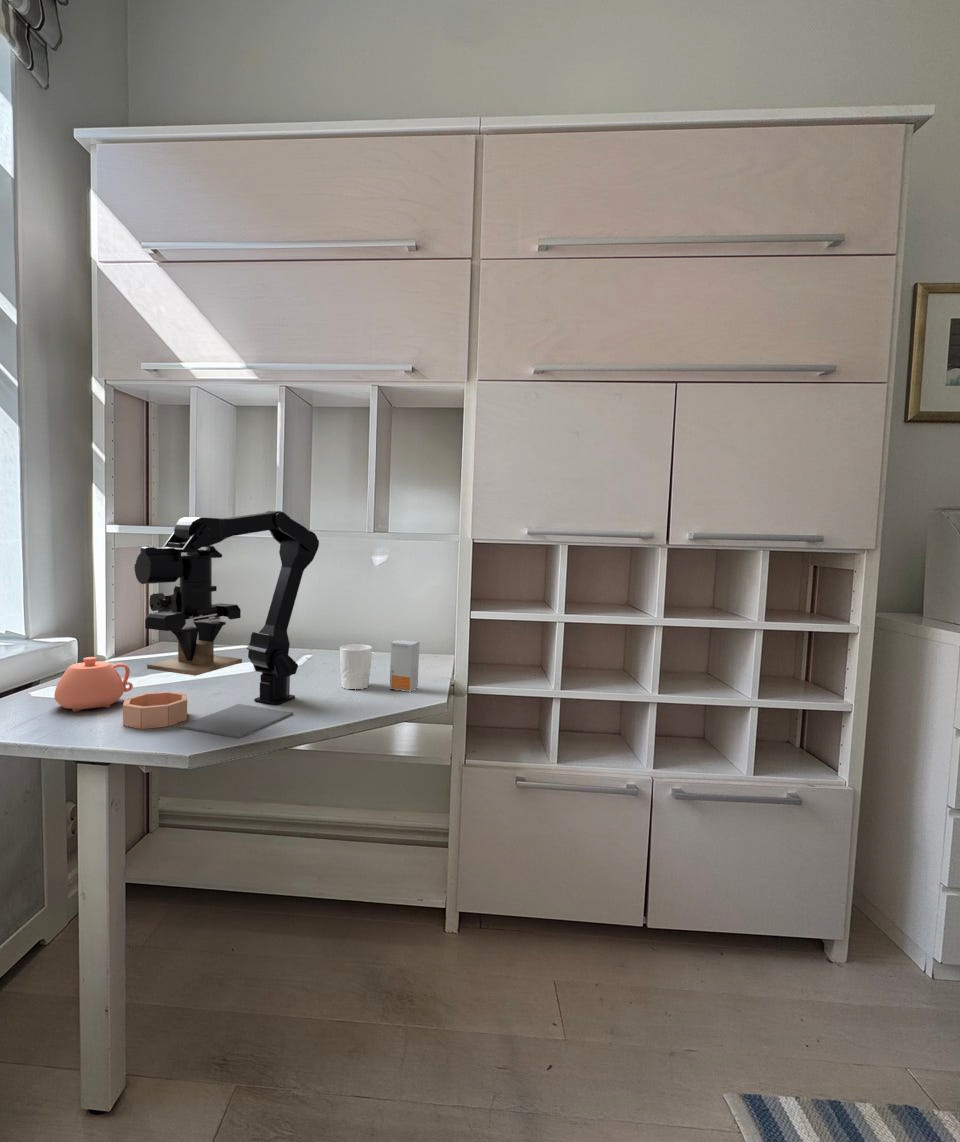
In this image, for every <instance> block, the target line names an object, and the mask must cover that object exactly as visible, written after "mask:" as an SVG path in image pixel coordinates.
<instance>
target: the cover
mask: <svg viewBox="0 0 960 1142" xmlns="http://www.w3.org/2000/svg"><path fill="white" fill-rule="evenodd" d="M214 647H215V646H214V641H213V642H210V641H202V640H199V639H197V641H196V647H195V652H194V656H193V660H192V661H187V660H186V658H185V655H184V653H183V650H182V648H181V645H180V643H179V641H177V653H178V655H177V657H174V658H170V659H166V660H161V661H156V662H152V663H148V664H146V670H147V669H148V670H153V671H161V672H166V673H167V672H168V673H175V674H180V675H181V674H182V675H188V676H195V677H196V676H200V675H204V674H206V673H211V672H213V671H218V670H221V669H225V668H227V667H232V666H234V665H235V666H236V665H238V664H241V663H243V659H242V658H239V657H238V658H237V657H231V656H224V655H223V656H222V655H215V654H214V653H215V651H214Z"/></svg>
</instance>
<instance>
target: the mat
mask: <svg viewBox="0 0 960 1142" xmlns="http://www.w3.org/2000/svg"><path fill="white" fill-rule="evenodd" d="M292 714H293V715H294V712H293V711H287V710H280V709H275V708H269V707H268V708H267V707H261V706H253V705H249V704H242V703H237V704H235V705H232V706H230V707H229V706H228V707H226V708H223V709H221V710H218V711H216V712H213V713H210V714H207V715H204V716H202V717H200V718H197V719H194V720H191V721H188V722H186V723H182V724H181V725H179V728H180V729H184V730H185V729H186V730H191V731H197V732H203V733H209V734H212V735H213V734H214V735H218V736H225V737H230V738H237V739H241V738H243V737H246V736H248V735H249V733H250V734H252V733H255V732H256V730H257V731H259V730H261V729H263V728H265V726H266V727H268V726H270V725H272V724H274V722H275V723H276V721H277V722H279V721H281V720H283V718H284V719H286V718H289V717H290V716H292ZM278 720H279V721H278ZM267 725H268V726H267ZM260 728H261V729H260ZM258 729H259V730H258ZM254 731H255V732H254Z"/></svg>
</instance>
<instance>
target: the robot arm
mask: <svg viewBox="0 0 960 1142" xmlns="http://www.w3.org/2000/svg"><path fill="white" fill-rule="evenodd" d="M177 520H178V521H177V522H176V524H175V525H174V529H173V532H172V533H171V534H170V536H169V538H168V539H167V540H166V542H165V543H164V544H163V545H162V547H154V546H153V547H152V546H141V547H140V554H138V556H137V557H136V560H135V563H134V574H135V575H134V576H135V577H136V580H137V582H139V583H140V584H142V585H147V584H148V585H150V584H153V585H154V584H165V583H166V584H168V583H175V582H177V581H178V580H179V585H175V586H174V588H173V594H170V595H165V594H164V593H163V592H159V593H158V592H157V593H153V594H150V595H149V603H148V604H149V608H150V610H151V611H152V612H151V613H149V614H147V615H146V617H145V618H144V619H145V620H144V625H145V626H144V627H145V629H147V630H156V631H157V630H158V631H164V632H171V633H172V634H174V636H175V638H176V639H177V640H178V641H177V642H179V643H180V645H181V648H182V650H183V653H184V655H185V658H186V660H187V661H192V660H193V656H194V652H195V647H196V641H197V640H202V641H210V642H214V641H215V639H216V638H217V636H218V634H219V633H220V631H221V629H222V628H223V626H225V625H226V623H227V622H226V621H221V618H222V617H225V618H226V617H227V618H228V619H229V620H236V619H241V616H242V614H241V608H240V607H239V605H238V604H234V603H222V602H220V603H214V604H212V603H213V600H212V598H213V594H212V593H213V592H217V585H213V584H212V581H213V578H212V577H213V575H212V574H213V571H212V566H213V564H212V563H213V562H212V560H213V559H220V558H222V557H223V554H222V553H221V552H219V551H218V549H216V547H215V546H214V545H215V544H216V545H217V544H218V543H221V542H223V541H224V540H226V539H228V538H231V537H236V536H243V535H248V534H253V533H254V534H255V533H259V532H260V533H261V532H267V531H269V532H270V534H271V536H272V538H273V540H275V541H276V542H277V543H278V544H280V545H279V550H278V551H279V552H278V553H279V558H280V562H281V567H280V571H279V574H278V578H277V582H276V585H275V588H274V592H273V596H272V599H271V602H270V606H269V610H268V612H267V617H266V620H265V624H264V625H263V627H262V628H261V629H260V631H259V632H257V631H252V633H251V634H250V641H249V644H248V645H247V647H246V650H248V654H247V657H248V659H249V661H250V663H251V664H252V665H253V668H254V672H256V673H257V672H259V673H261V674H260V679H259V680H260V682H259V696H258V697H255V698H254V702H259V703H266V704H271V705H280V704H282V703H286V702H287V701H290V700H292V699H295V698H296V695H294V694H290V691H291V689H290V688H291V687H290V686H291V685H290V682H291V676H293V675H296V674H297V671H298V667H299V665H298V663H297V662H296V661H295V660H294V659H293V658H292V657H291V656H290V655H289V652H290V646H291V644H290V640H289V636H288V628H289V626H290V625H289V624H290V620H291V617H292V613H293V609H294V607H295V603H296V599H297V596H298V593H299V590H300V589H299V588H300V585H301V581H302V578H303V574H304V571H305V569H306V568H307V567H308V566H309V565H310V564H311V563H312V562H313V560H314V559H315V557H316V554H317V552H318V550H319V546H320V541H319V539H318V537H317V535H316V533H315V532H313V531H311V530H309V529H308V528H306V527H305V526H303V525H302V524H301V523H298V522H297V521H295V520H294V519H293V518H291V517H290V516H288V515H287V514H286V513H285V512H284V511H280V510H268V511H266V512H262V513H261V512H260V513H259V512H258V513H253V514H246V515H239V516H238V515H237V516H232V517H223V518H221V517H220V518H217V517H199V516H198V517H197V516H196V517H195V516H194V517H193V516H188V517H187V516H185V517H181V518H180V519H177ZM201 548H204V549H201ZM183 553H186V554H183ZM156 611H157V612H156Z"/></svg>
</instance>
